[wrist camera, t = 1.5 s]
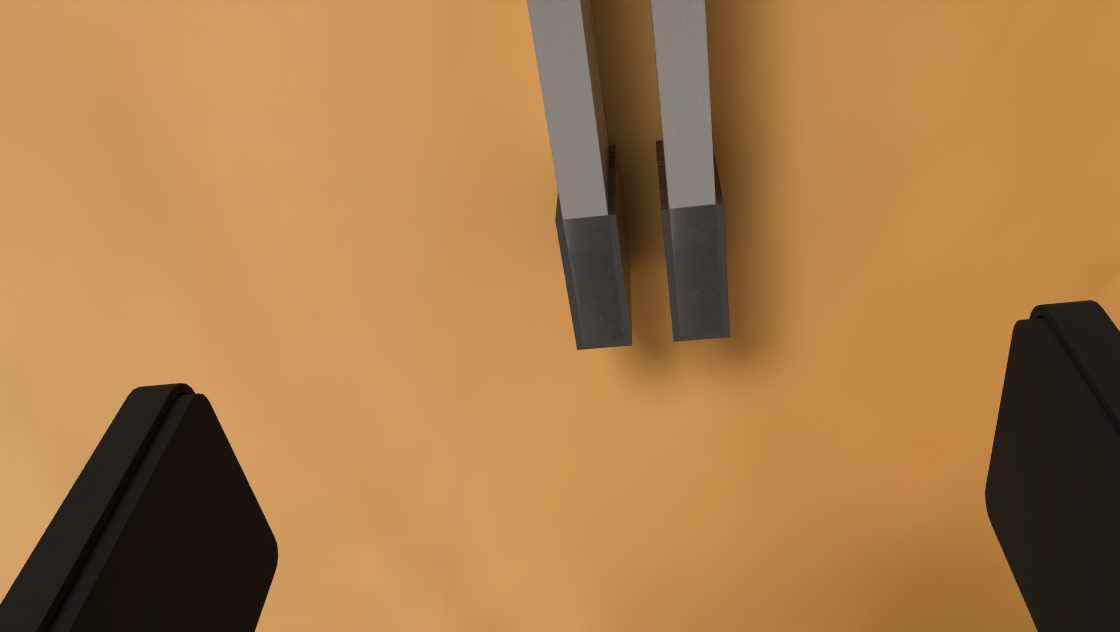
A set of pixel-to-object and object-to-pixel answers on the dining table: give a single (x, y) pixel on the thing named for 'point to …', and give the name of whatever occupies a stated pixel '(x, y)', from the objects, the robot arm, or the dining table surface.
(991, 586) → the dining table surface
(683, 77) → the tongs
